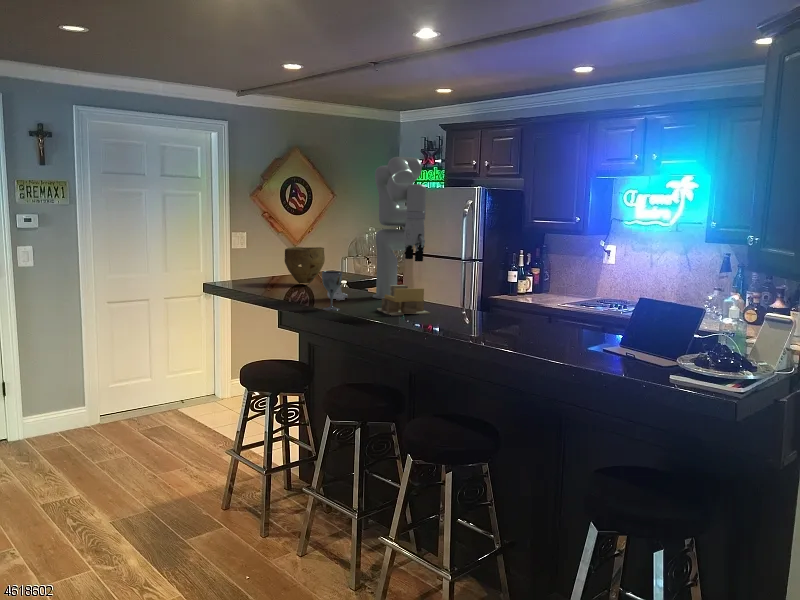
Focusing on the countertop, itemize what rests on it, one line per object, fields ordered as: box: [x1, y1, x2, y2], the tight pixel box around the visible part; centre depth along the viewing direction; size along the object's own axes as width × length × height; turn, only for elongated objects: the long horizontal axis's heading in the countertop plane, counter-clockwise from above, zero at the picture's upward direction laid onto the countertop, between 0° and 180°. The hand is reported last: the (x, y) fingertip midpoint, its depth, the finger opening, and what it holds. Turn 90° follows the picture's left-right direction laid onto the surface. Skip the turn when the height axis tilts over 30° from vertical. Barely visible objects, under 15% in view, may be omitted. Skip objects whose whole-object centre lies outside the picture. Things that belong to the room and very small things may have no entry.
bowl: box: [284, 246, 325, 284], centre depth 337 cm, size 21×20×20 cm
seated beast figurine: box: [326, 286, 348, 301], centre depth 291 cm, size 10×9×12 cm
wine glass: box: [321, 270, 343, 311], centre depth 261 cm, size 8×8×15 cm
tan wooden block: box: [385, 287, 425, 302], centre depth 259 cm, size 11×12×5 cm
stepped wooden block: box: [376, 284, 431, 316], centre depth 260 cm, size 15×17×10 cm
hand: (413, 260), depth 256 cm, fingers open, 9 cm apart
